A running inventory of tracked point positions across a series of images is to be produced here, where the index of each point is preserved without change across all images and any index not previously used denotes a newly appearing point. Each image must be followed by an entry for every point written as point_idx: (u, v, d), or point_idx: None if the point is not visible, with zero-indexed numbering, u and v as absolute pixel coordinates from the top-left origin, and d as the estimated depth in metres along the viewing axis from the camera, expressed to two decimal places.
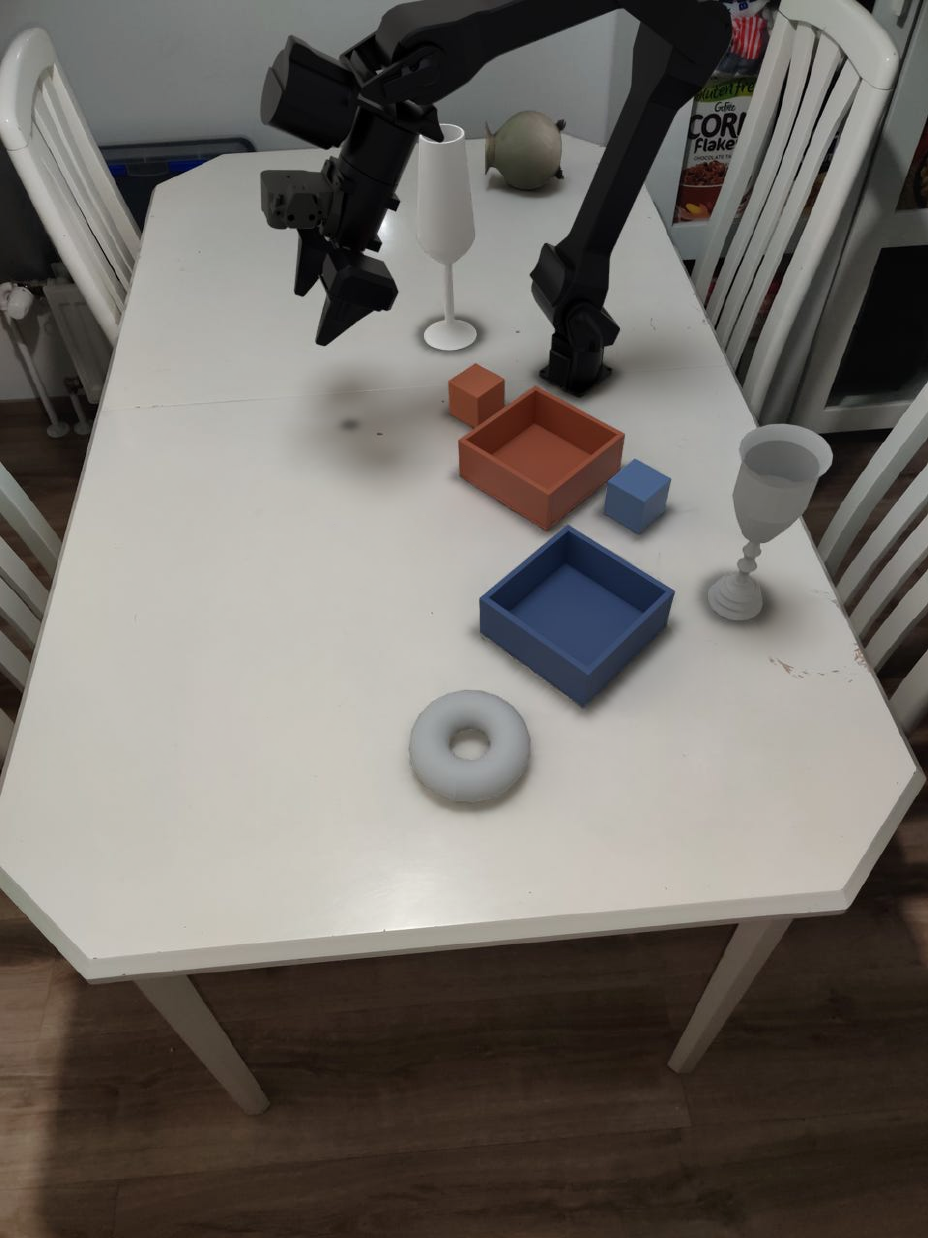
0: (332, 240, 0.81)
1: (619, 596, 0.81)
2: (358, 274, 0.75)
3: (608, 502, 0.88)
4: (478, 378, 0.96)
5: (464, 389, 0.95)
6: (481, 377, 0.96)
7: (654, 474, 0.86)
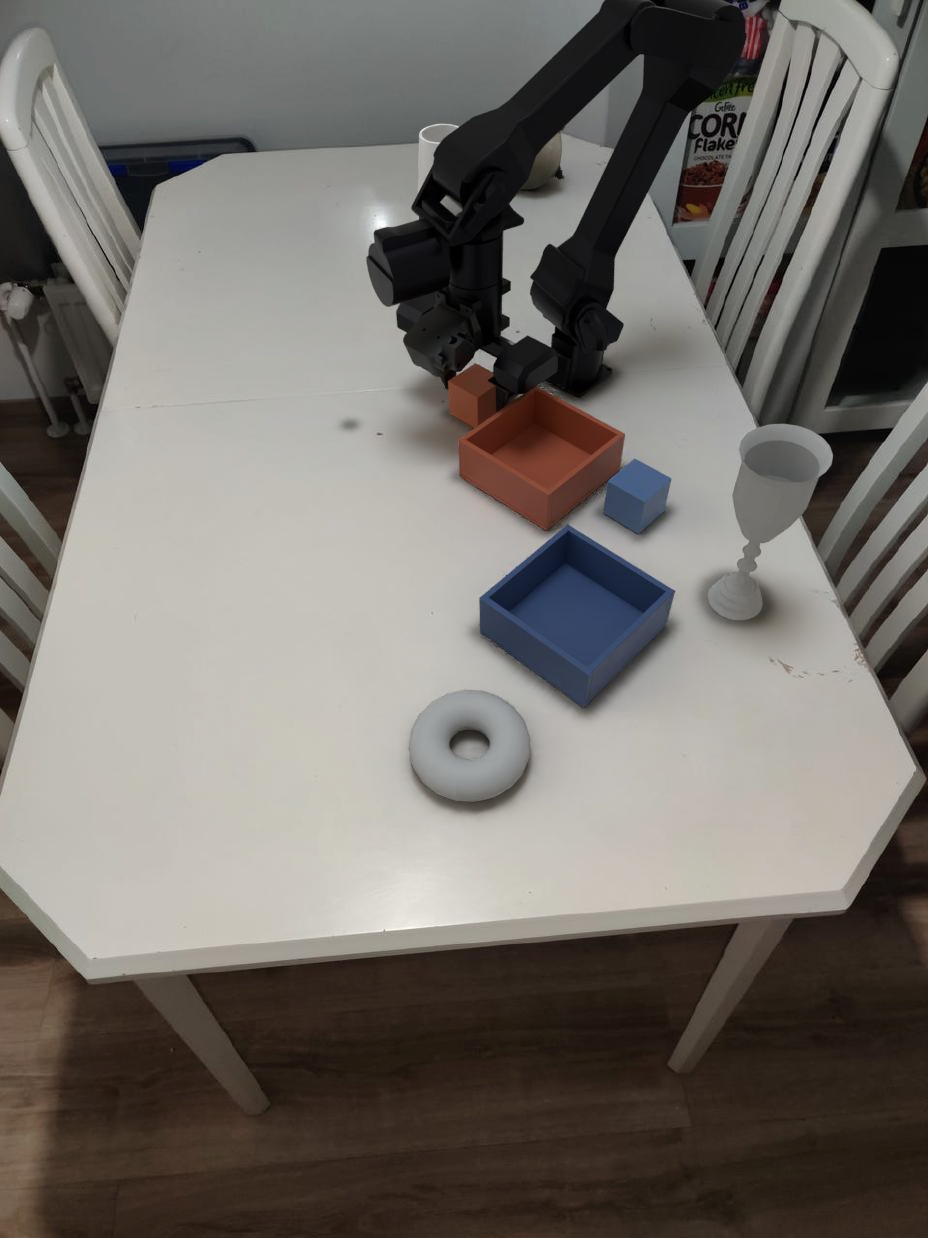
0: None
1: (619, 596, 0.81)
2: (532, 368, 0.86)
3: (608, 502, 0.88)
4: (478, 378, 0.96)
5: (464, 389, 0.95)
6: (481, 377, 0.96)
7: (654, 474, 0.86)
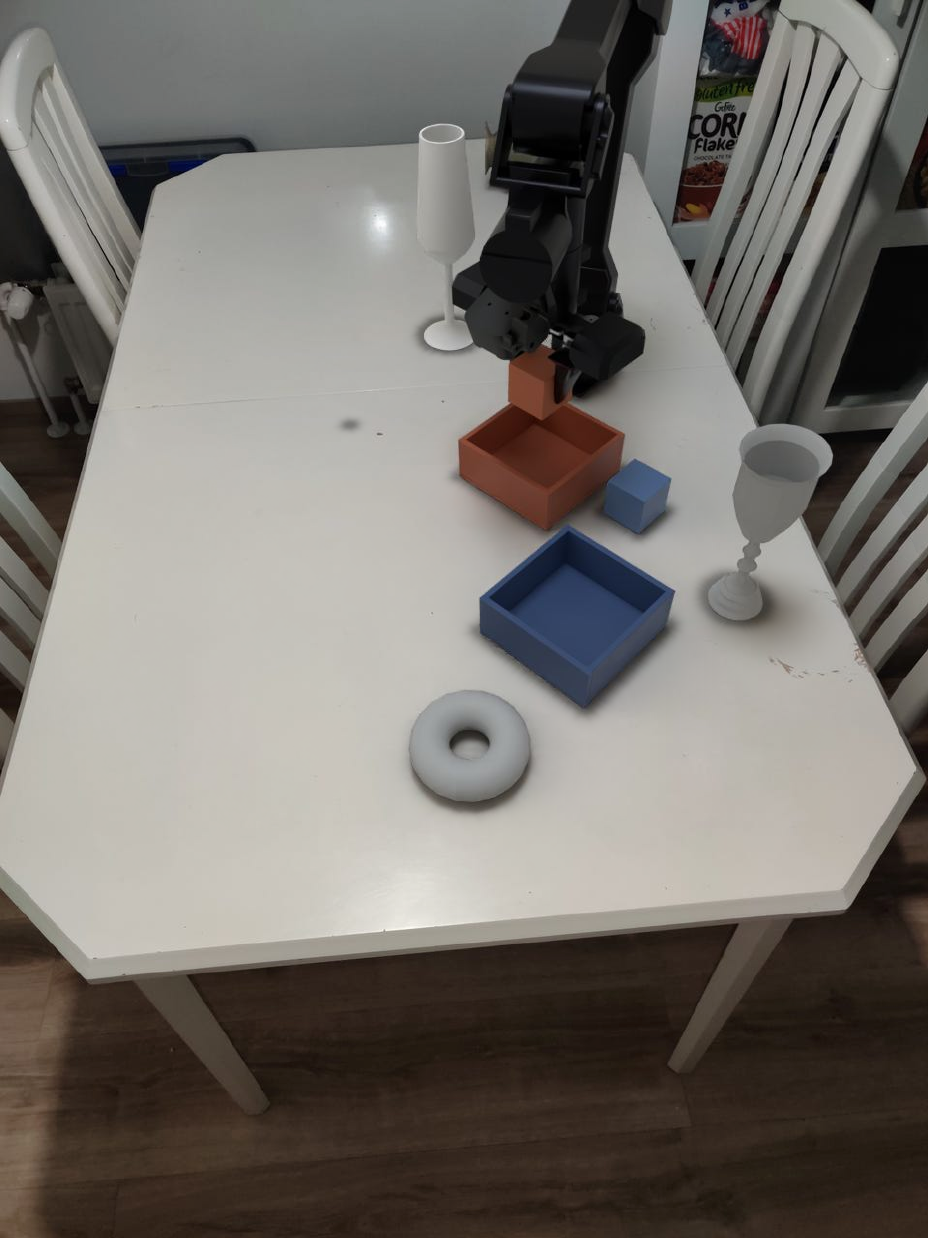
0: None
1: (619, 596, 0.81)
2: (617, 349, 0.73)
3: (608, 502, 0.88)
4: (544, 360, 0.83)
5: (527, 372, 0.82)
6: (547, 358, 0.83)
7: (654, 474, 0.86)
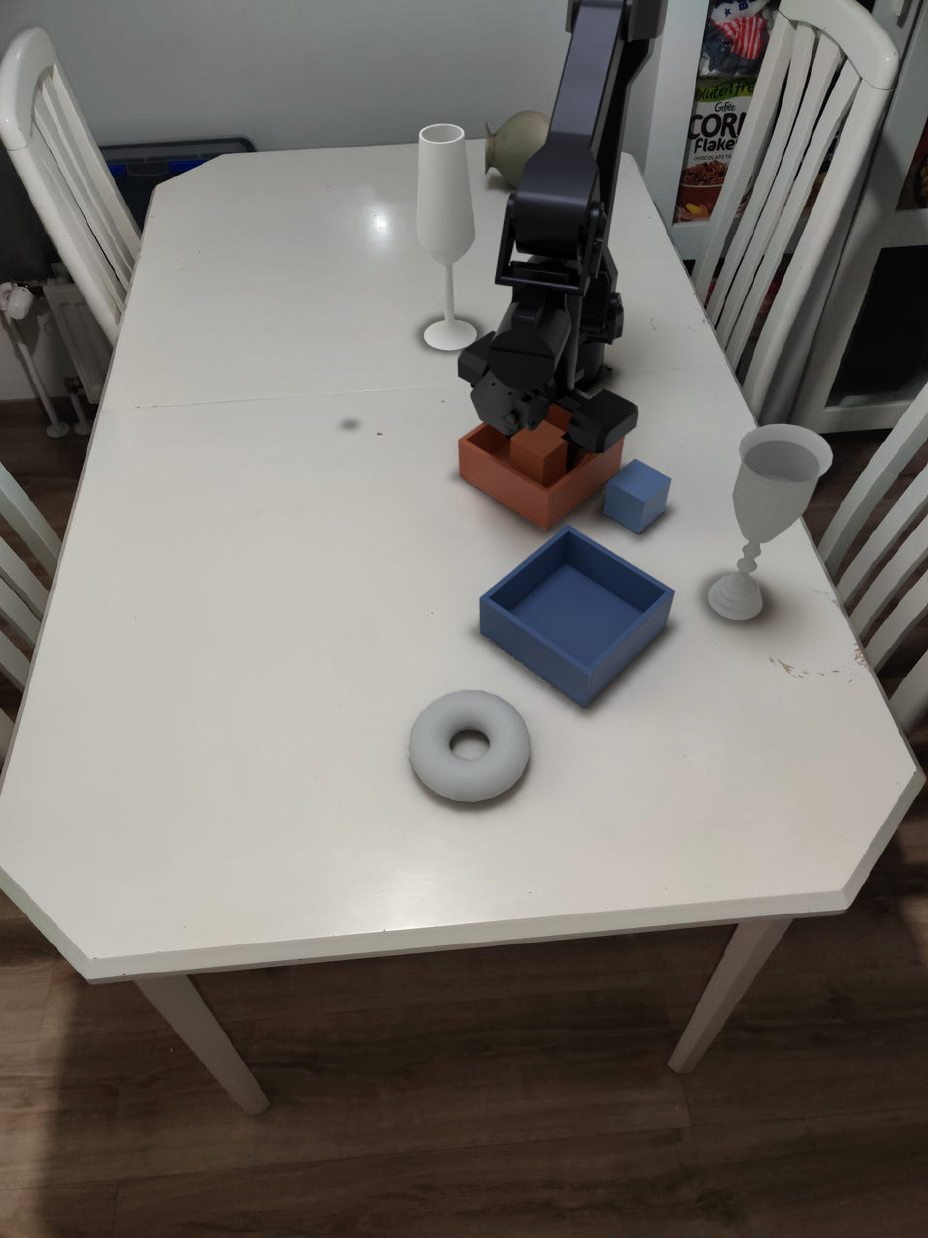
0: None
1: (619, 596, 0.81)
2: (612, 426, 0.79)
3: (608, 502, 0.88)
4: (543, 435, 0.89)
5: (528, 447, 0.88)
6: (546, 433, 0.89)
7: (654, 474, 0.86)
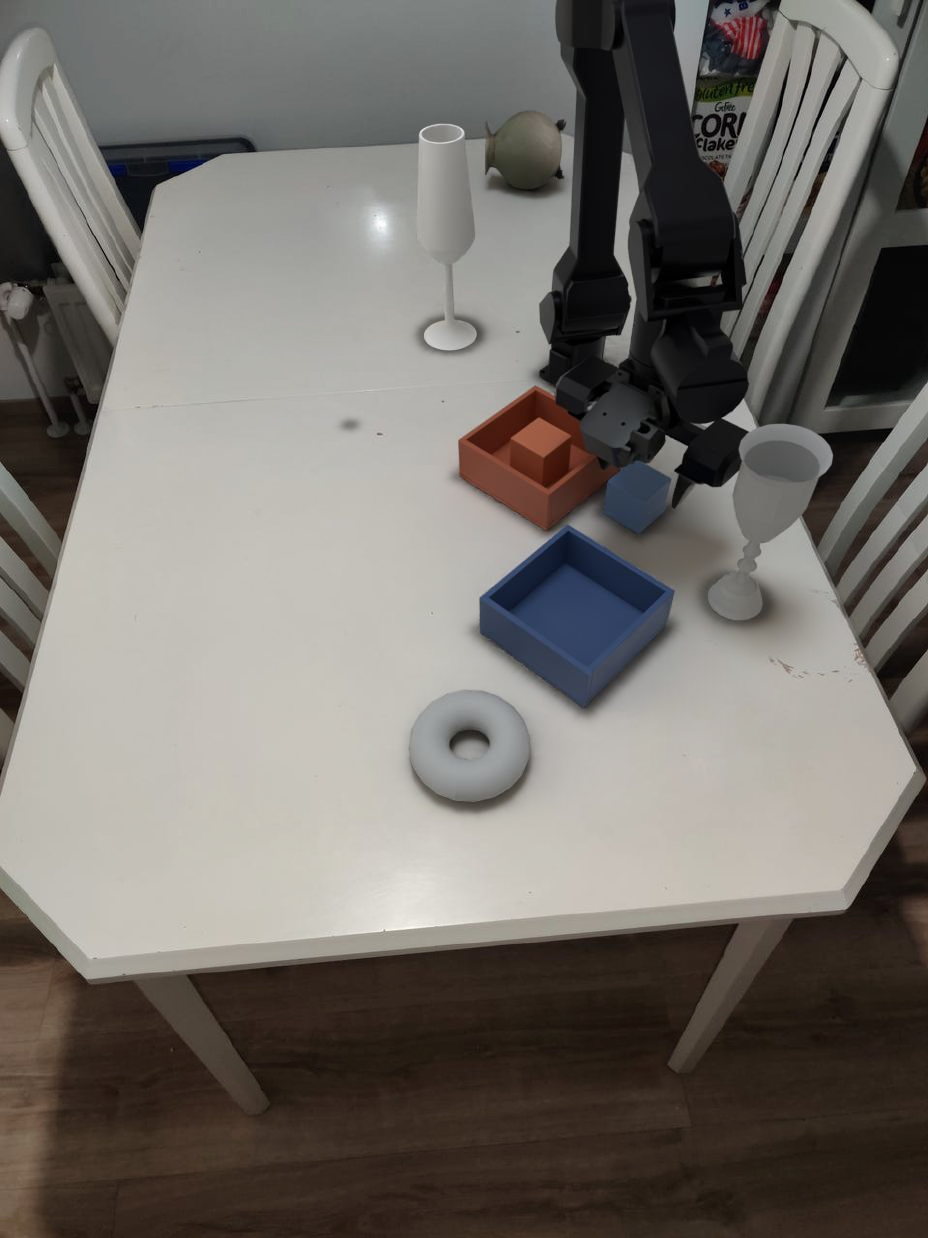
0: None
1: (619, 596, 0.81)
2: (732, 458, 0.74)
3: (608, 502, 0.88)
4: (543, 435, 0.89)
5: (528, 447, 0.88)
6: (546, 433, 0.89)
7: (654, 474, 0.86)
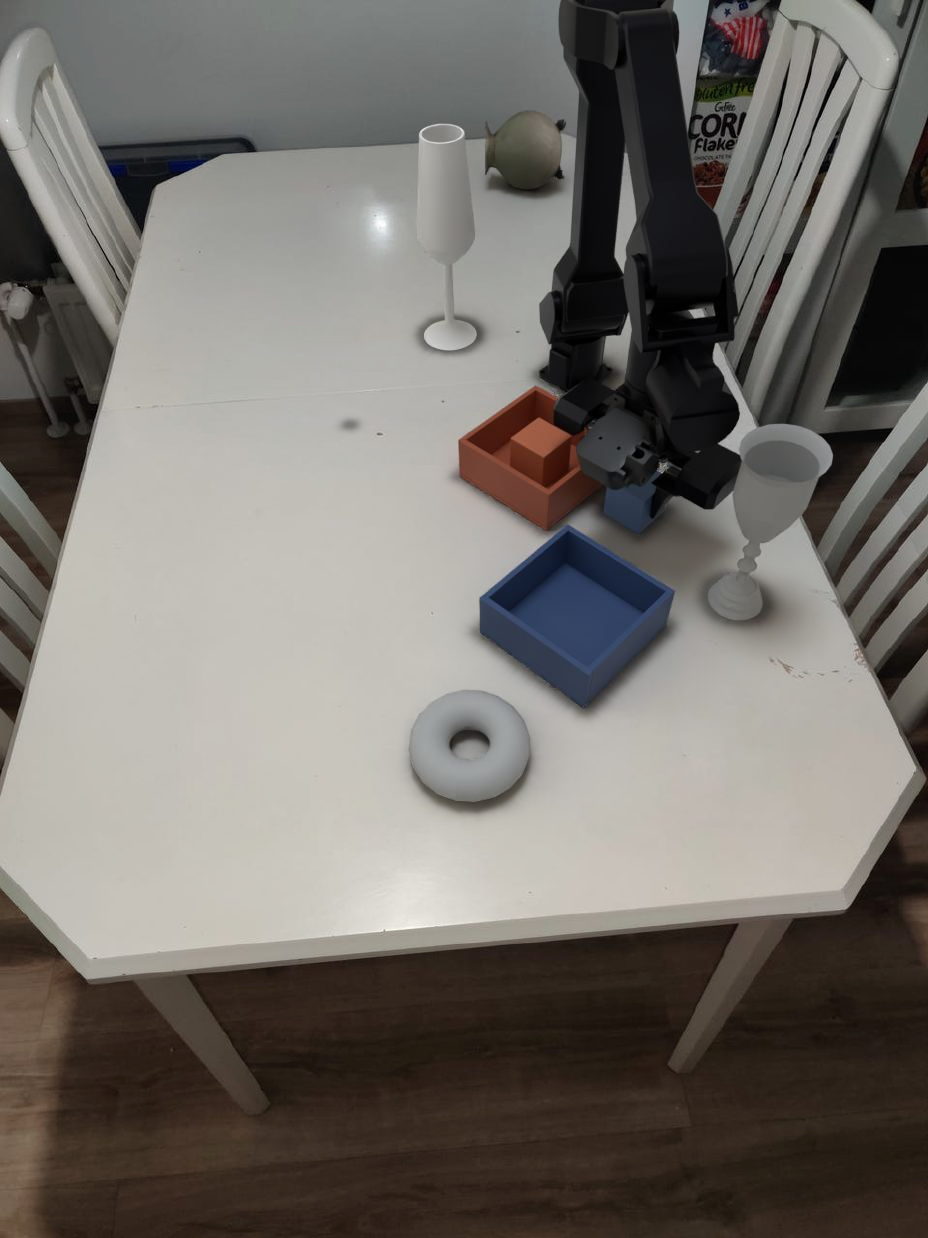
0: None
1: (619, 596, 0.81)
2: (724, 482, 0.76)
3: (608, 502, 0.88)
4: (543, 435, 0.89)
5: (528, 447, 0.88)
6: (546, 433, 0.89)
7: (654, 474, 0.86)
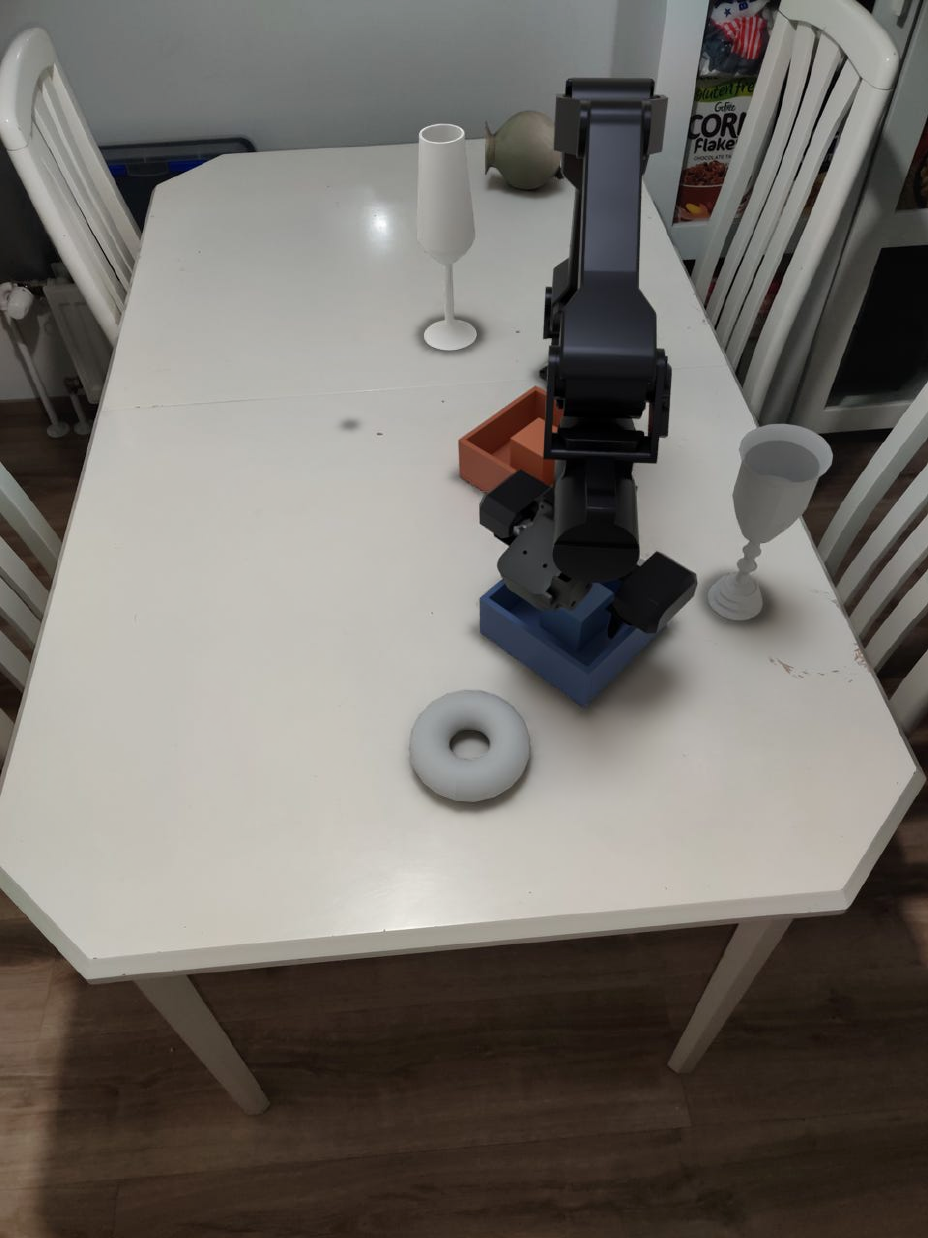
0: None
1: None
2: (668, 604, 0.66)
3: (544, 616, 0.78)
4: (543, 435, 0.89)
5: (528, 447, 0.88)
6: None
7: (595, 586, 0.77)
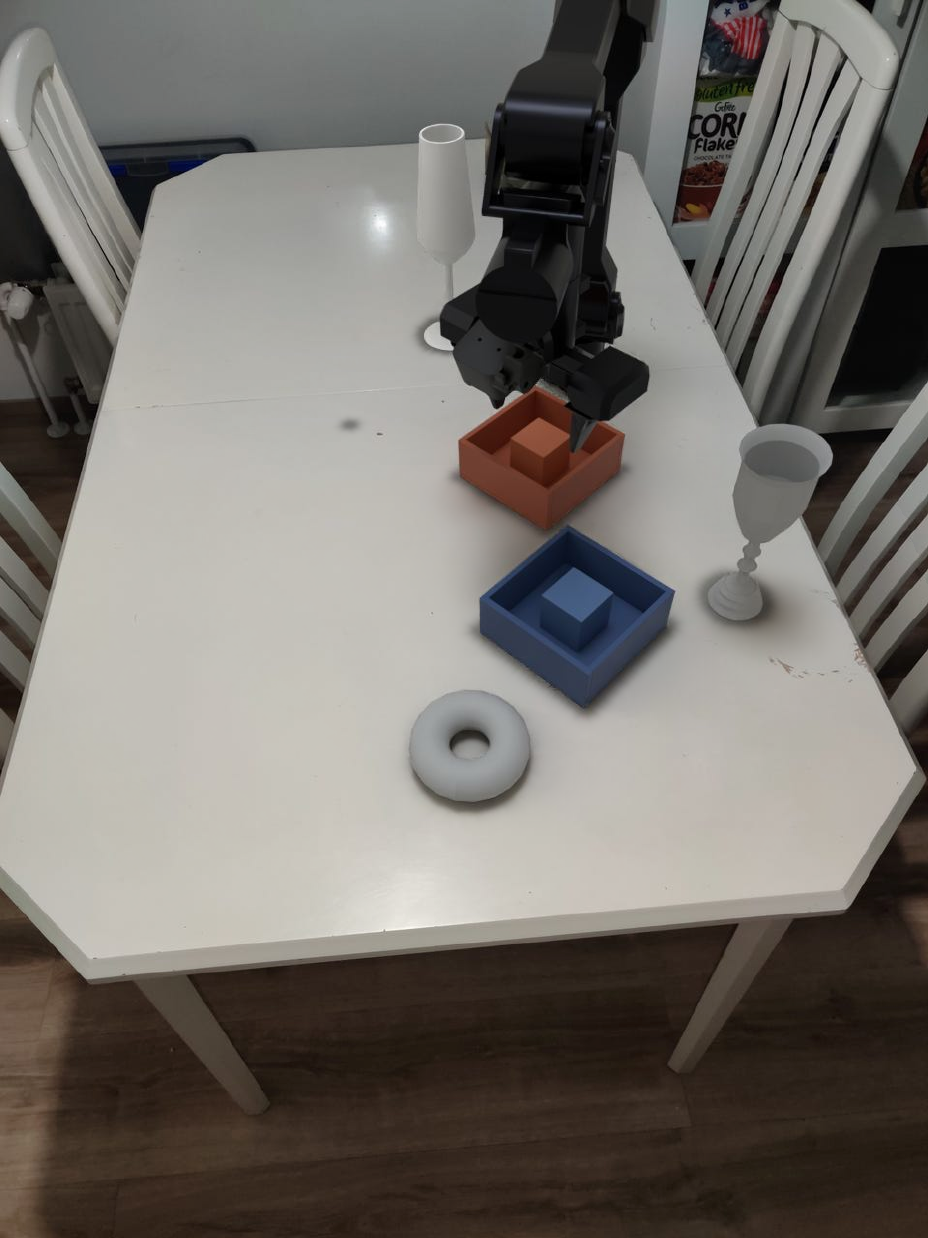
0: None
1: (619, 596, 0.81)
2: (619, 388, 0.67)
3: (544, 616, 0.78)
4: (543, 435, 0.89)
5: (528, 447, 0.88)
6: (546, 433, 0.89)
7: (595, 586, 0.77)
